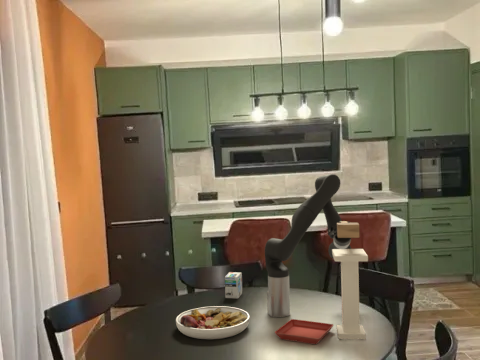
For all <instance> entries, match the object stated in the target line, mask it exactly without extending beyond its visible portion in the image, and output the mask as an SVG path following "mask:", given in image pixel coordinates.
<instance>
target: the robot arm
mask: <svg viewBox="0 0 480 360" xmlns="http://www.w3.org/2000/svg"><path fill="white" fill-rule="evenodd" d="M314 188H315V191H316V192H314V193H313V194H311V196H309V197H308V198H307V199H306V200H304V201H303V202H302V203H300V205H299V206H298V207H297V209H296V210H295V211H294V213H293V214H292V217H291V224H290V225H291V226H290V229H289V230H288V233H287V234H286V236H284V238H282V239H281V238H277V237H276V238H275V237H271V238H269V239H268V240H267V241H266V243H265V246H264V259H265V269H266V271H267V289H268V290H267V292H266V299H267V300H266V301H267V303H266V304H267V305H266V307H267V314H268V315H269V316H270V318H271V317H272V318H284V317H288V316H290V314H291V307H290V306H291V305H290V303H291V301H290V300H291V299H290V270H289V268H288V267H287V266H286V265H284V263H283V262H286V261H287V260H289V259H290V258H291V257H292V255H293V253H295V250H296V248H297V246H298V245H299V243H300V241H301V240H302V238H303V237H304V235H305V234H306V232H307V231H308V229H309V228H310V227H311V226H312V225H313V223H314V222H315V220H316V219H317V217H318V215H319V214H320V213H321V212H322V211H323V213H324V216H325V221H326V225H327V226H326V227H327V235H328V236H329V238H330V239H333V241H332V242H331V243H330V244H329V246H328V251H327V252H328V255H329V257H330V258H332V259H333V260H334V258H333V255H332V249H352V247H351V245H350V244H351V242H352V238H338V236H337V223H341V222H340V221H342V218H341V216H340V214H339V212H338V210H337V209H336V208H335V206H334V204H333V202H332V198H333V197H334V196H335V195H336V194H337V192H339V190H340V188H341V179H340V177H339V176H338V175H337V174H335V173H327V174H325V175H321V176H318V177H317V178H316V179H315V181H314ZM347 222H348V223H351V221H347Z"/></svg>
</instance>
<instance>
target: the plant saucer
mask: <svg viewBox="0 0 480 360" xmlns="http://www.w3.org/2000/svg"><path fill="white" fill-rule="evenodd" d="M333 327H334V324H333V323H325V322H319V321H312V320H310V321H309V320H302V319H296V318H295V319H294V318H291V319H290V320H288V321H287V322H286V323H284V324H283V325H282V326H280V327H279V328H278V329H277V330H275V331H274V334H275V335H276V336H277V337H278V338H279V339H280V340H283V339H284V341H285V340H286V341H292V342H299V343H303V344H304V343H305V344H312V345H318V343H319V342H320V341H321V340H323V338H325V336H327V334H328V333H329V332H331V330H332V329H333Z"/></svg>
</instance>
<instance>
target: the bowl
mask: <svg viewBox="0 0 480 360" xmlns="http://www.w3.org/2000/svg"><path fill="white" fill-rule="evenodd" d="M250 317H251V316H250V314H249V312H248V311H246V310H244V309H241V308H238V307H233V306H232V307H231V306H225V305H224V306H223V305H222V306H217V305H216V306H215V305H213V306H202V307H198V308H192V309H189V310H185V311H183V312H181V313H180V314H179V315H177V316H176V318H175V324H176V327H177V329H178V331H180V333H182V334H183V335H185V336H187V337H190V338H192V339H193V338H194V339H197V340H198V339H201V340H219V339H220V340H221V339H225V338H230V337H233V336H236V335H238V334H241V333H242V332H243V331H245V329H247V327H248V326H249V323H250V321H251V319H250Z"/></svg>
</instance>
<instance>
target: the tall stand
mask: <svg viewBox="0 0 480 360" xmlns="http://www.w3.org/2000/svg"><path fill="white" fill-rule="evenodd" d="M332 255H333V258H334V259H333V258H332V259H333V260H334V262H340V272H341V273H340V281H341V283H340V284H341V285H340V289H341V290H340V291H341V322H342V323H341V324H337V325H336V333H337V336H338V337H337V338H338V339H339V340H366V339H367V336H366V335H367V334H366V331H365V329H364V326H363V324H361V323H360V287H359V286H360V285H359V284H360V283H359V282H360V281H359V280H360V278H359V277H360V276H359V273H360V272H359V262H369V255H368V254H367V253H366V251H365V250H364V248H351V249H332Z"/></svg>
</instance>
